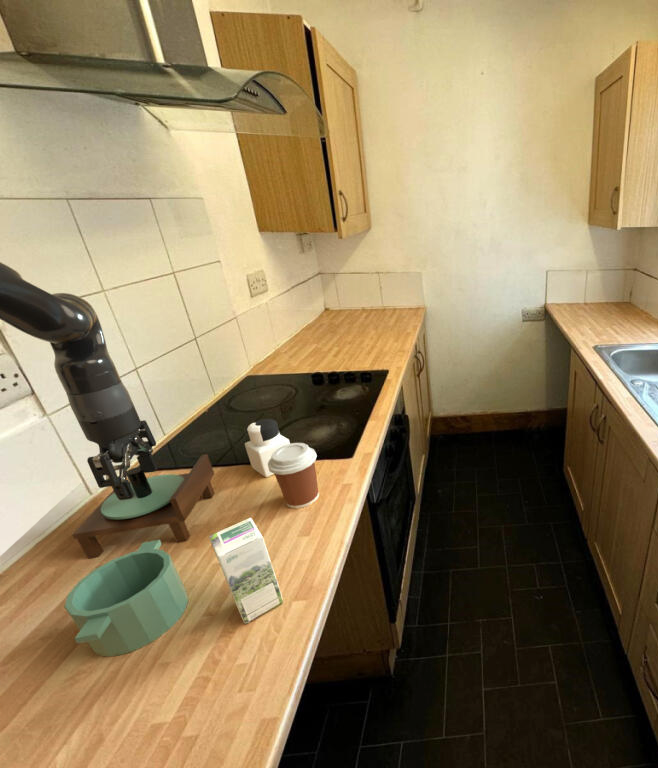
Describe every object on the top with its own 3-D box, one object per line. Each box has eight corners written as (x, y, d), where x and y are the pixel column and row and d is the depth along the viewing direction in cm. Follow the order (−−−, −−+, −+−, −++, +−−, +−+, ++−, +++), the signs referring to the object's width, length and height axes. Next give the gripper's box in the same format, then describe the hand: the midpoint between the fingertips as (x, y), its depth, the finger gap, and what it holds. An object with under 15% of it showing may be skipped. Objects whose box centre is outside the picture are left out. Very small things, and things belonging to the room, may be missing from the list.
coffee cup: (302, 517, 85) (289, 468, 80) (269, 506, 88) (254, 459, 83) (334, 490, 92) (324, 444, 88) (302, 481, 95) (291, 436, 90)
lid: (86, 528, 74) (69, 498, 71) (126, 485, 85) (113, 457, 83) (169, 514, 77) (156, 485, 74) (197, 474, 88) (187, 447, 86)
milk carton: (273, 581, 70) (250, 514, 64) (285, 603, 66) (262, 534, 61) (235, 602, 67) (207, 533, 61) (245, 627, 63) (216, 556, 57)
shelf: (85, 560, 75) (60, 516, 71) (131, 506, 88) (112, 467, 84) (193, 540, 79) (175, 498, 75) (221, 491, 92) (207, 453, 88)
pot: (58, 686, 55) (27, 644, 52) (128, 582, 70) (107, 545, 67) (159, 662, 58) (136, 621, 55) (206, 567, 73) (190, 530, 70)
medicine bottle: (281, 454, 106) (269, 413, 101) (295, 464, 102) (284, 421, 97) (251, 468, 100) (237, 425, 95) (266, 478, 96) (252, 434, 92)
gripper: (104, 395, 78) (136, 466, 85) (49, 432, 66) (93, 512, 72) (150, 390, 80) (178, 460, 87) (106, 425, 68) (143, 504, 74)
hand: (139, 484), depth 80 cm, fingers open, 8 cm apart
